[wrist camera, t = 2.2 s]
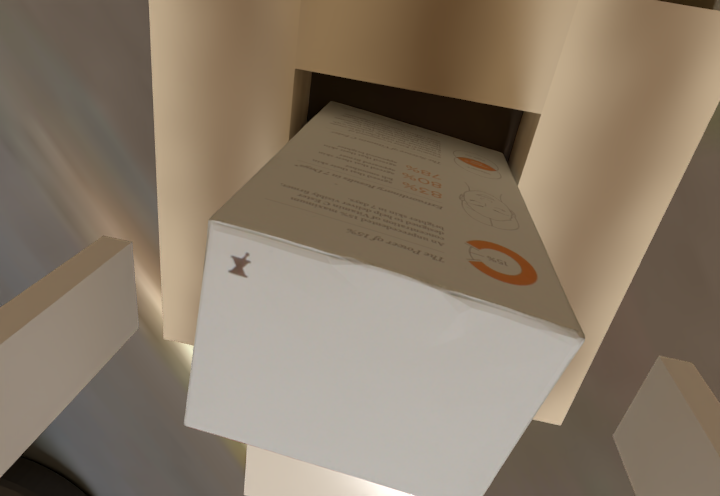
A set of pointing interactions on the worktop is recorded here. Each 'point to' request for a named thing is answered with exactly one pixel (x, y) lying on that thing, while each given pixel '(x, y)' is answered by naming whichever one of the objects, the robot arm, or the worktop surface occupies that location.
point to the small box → (379, 308)
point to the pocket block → (451, 79)
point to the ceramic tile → (302, 478)
